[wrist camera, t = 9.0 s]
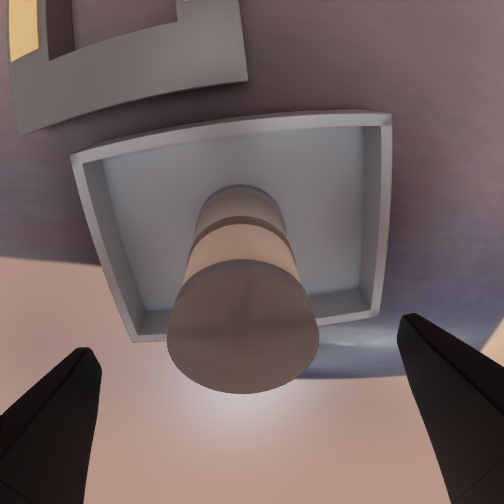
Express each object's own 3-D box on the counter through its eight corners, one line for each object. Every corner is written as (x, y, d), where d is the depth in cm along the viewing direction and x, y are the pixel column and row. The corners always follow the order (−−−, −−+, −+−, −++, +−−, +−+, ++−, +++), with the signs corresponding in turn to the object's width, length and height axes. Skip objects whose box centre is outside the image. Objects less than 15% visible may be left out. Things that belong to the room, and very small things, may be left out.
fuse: (279, 179, 14) (320, 275, 7) (285, 257, 16) (317, 385, 9) (190, 190, 14) (147, 294, 7) (205, 266, 16) (186, 397, 9)
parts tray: (368, 109, 13) (391, 113, 11) (363, 289, 18) (378, 315, 16) (93, 144, 13) (69, 154, 11) (142, 313, 18) (132, 342, 16)
